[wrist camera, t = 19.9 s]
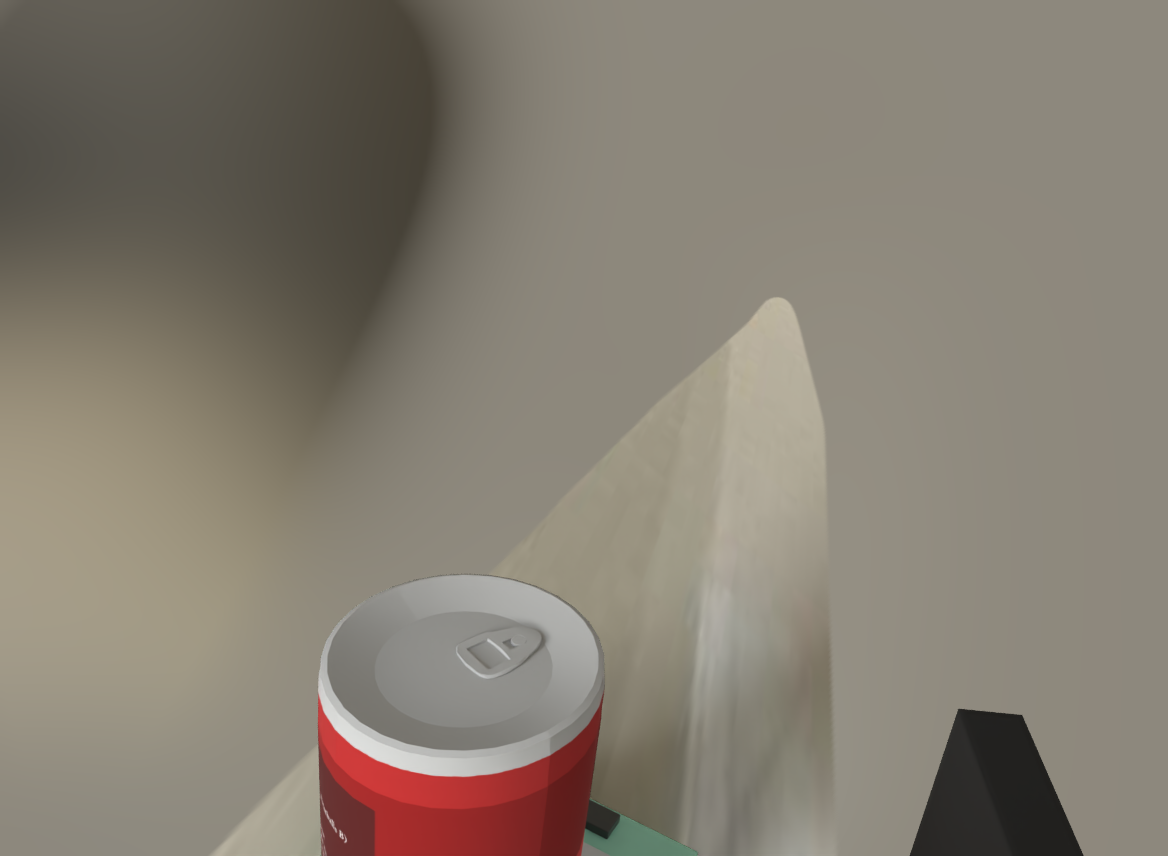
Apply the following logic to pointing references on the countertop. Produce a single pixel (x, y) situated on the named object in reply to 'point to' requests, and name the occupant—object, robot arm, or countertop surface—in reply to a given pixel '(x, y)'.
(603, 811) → the scale
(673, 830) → the countertop surface
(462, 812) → the canned food
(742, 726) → the countertop surface
